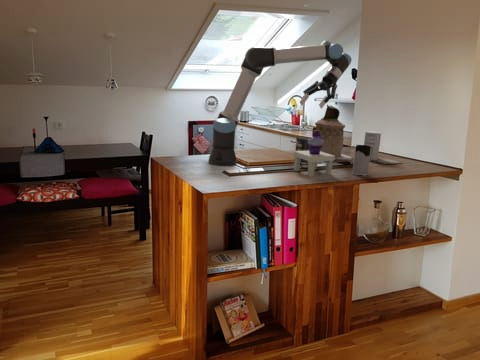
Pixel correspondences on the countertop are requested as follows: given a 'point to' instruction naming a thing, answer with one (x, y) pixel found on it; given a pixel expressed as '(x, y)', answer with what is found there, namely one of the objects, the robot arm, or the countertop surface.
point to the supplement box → (373, 142)
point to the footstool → (313, 161)
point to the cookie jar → (331, 133)
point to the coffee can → (302, 146)
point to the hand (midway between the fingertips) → (310, 105)
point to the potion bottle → (315, 143)
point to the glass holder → (362, 159)
